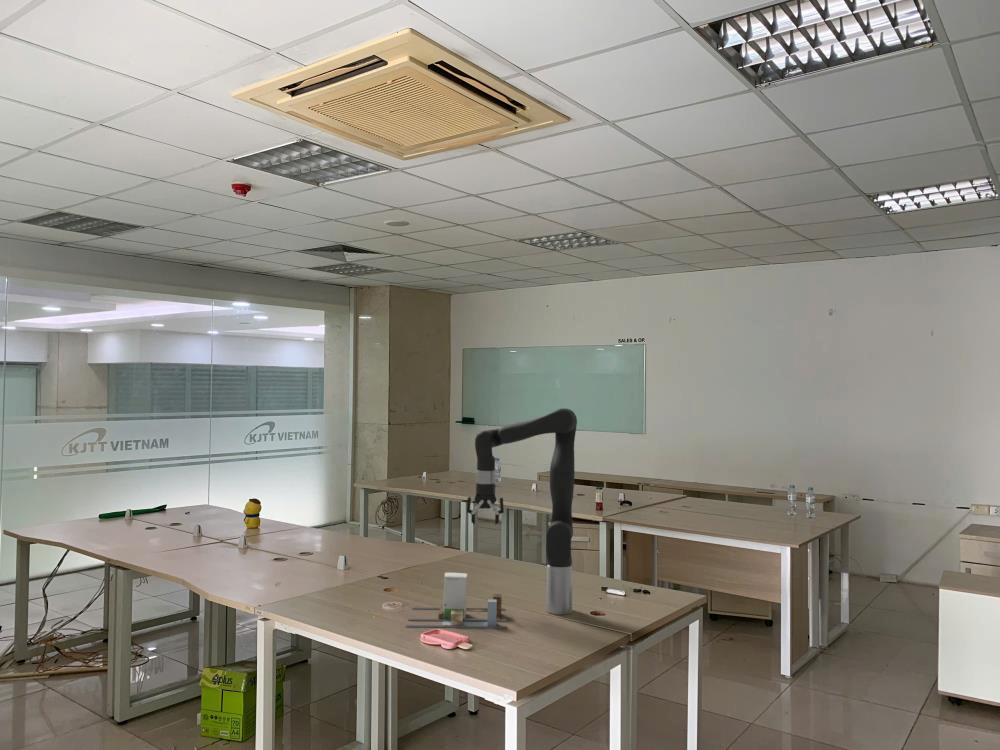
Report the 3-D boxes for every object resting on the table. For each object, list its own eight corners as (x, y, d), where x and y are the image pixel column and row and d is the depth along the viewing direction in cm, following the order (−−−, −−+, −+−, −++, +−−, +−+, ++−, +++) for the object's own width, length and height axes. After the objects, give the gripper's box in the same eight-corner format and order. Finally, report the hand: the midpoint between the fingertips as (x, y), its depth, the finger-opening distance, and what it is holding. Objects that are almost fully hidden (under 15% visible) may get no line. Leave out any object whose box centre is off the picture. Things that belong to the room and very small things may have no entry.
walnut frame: (500, 613, 256) (501, 591, 256) (501, 623, 244) (501, 600, 244) (440, 612, 255) (441, 590, 256) (438, 622, 244) (438, 599, 244)
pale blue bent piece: (496, 624, 242) (496, 598, 242) (496, 629, 237) (496, 602, 237) (442, 624, 242) (443, 598, 242) (441, 629, 237) (442, 602, 237)
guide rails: (505, 612, 257) (505, 608, 257) (506, 631, 236) (506, 626, 236) (412, 611, 257) (412, 606, 257) (405, 630, 235) (405, 625, 235)
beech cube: (462, 622, 241) (463, 610, 241) (462, 625, 237) (462, 613, 237) (451, 622, 241) (451, 610, 241) (450, 625, 237) (450, 613, 237)
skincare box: (442, 621, 245) (443, 576, 246) (443, 615, 252) (444, 572, 252) (466, 621, 245) (466, 576, 246) (466, 615, 252) (467, 572, 253)
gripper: (503, 481, 274) (503, 522, 274) (467, 480, 274) (466, 522, 274) (504, 483, 267) (503, 526, 266) (467, 482, 267) (466, 525, 266)
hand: (484, 524), depth 270 cm, fingers open, 8 cm apart
